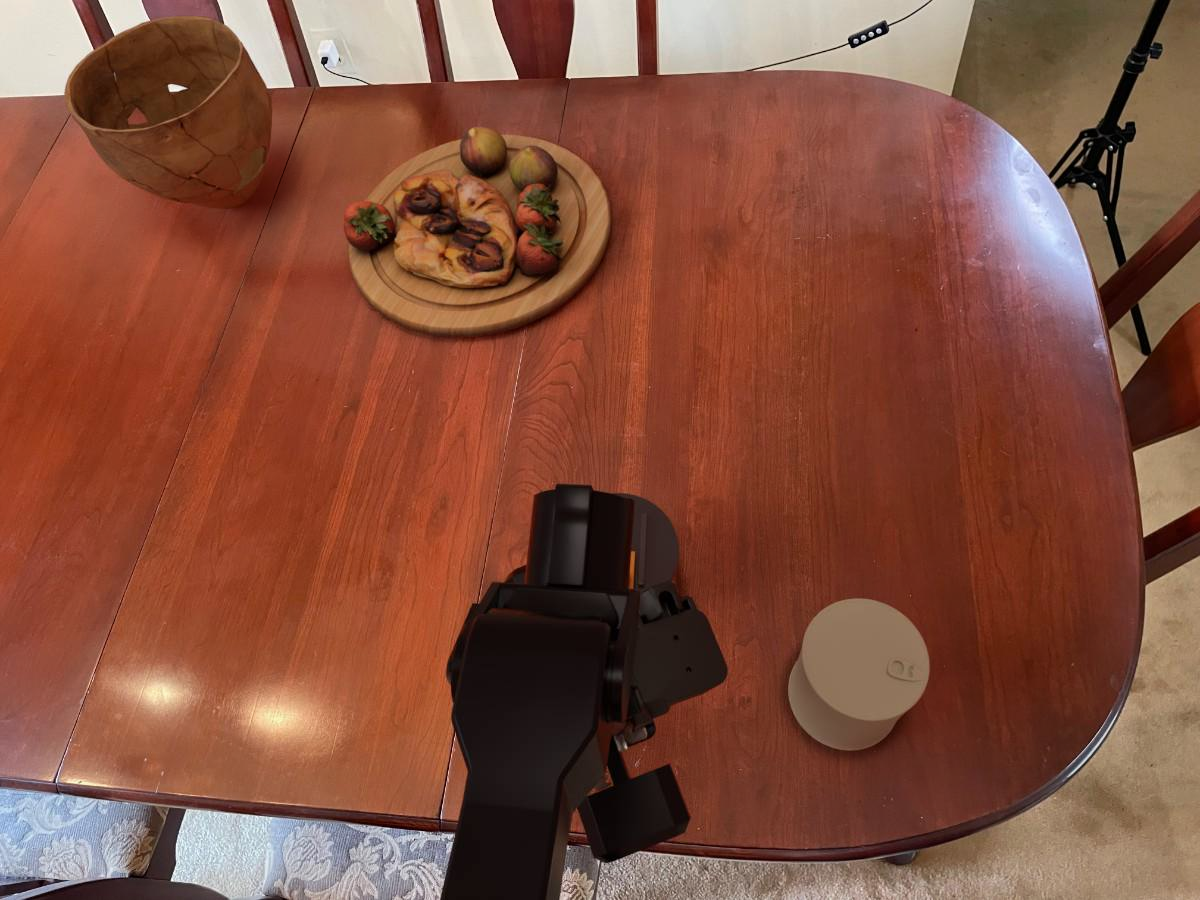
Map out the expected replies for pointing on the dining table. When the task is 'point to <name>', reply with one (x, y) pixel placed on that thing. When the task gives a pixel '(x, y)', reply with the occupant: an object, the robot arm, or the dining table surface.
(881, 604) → the can
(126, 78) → the bowl
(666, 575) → the round container with rails
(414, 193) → the wooden plate
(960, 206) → the dining table surface
